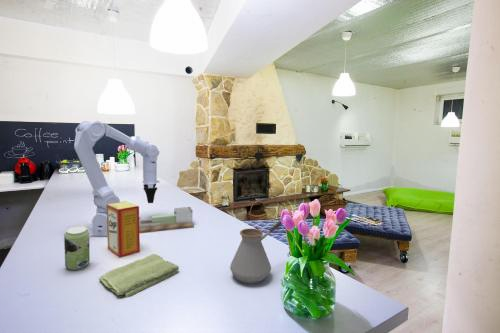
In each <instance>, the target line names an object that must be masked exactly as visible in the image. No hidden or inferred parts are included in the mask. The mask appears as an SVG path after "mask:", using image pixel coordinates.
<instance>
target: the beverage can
mask: <svg viewBox="0 0 500 333" xmlns="http://www.w3.org/2000/svg"><path fill="white" fill-rule="evenodd" d="M63 236H64V237H63V239H64V241H63V242H64V243H63V244H64V266H65V268H66V269H69V270H72V271H73V270H75V271H76V270H80V269H83V268H84V267H86V266H87V265H89V264H90V258H91V256H90V255H91V254H90V230H89V229H88V228H87V226H85V225H73V226H71V227H68V228H67V229H66V231H65V233H64V235H63Z"/></svg>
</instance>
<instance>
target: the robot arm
mask: <svg viewBox="0 0 500 333" xmlns="http://www.w3.org/2000/svg"><path fill="white" fill-rule="evenodd" d="M74 131H75V138H74V143H73V144H74V146H73V148H74V150H75V152H76V154H77V158H78V159H79V161H80V163H81V166H82V167H83V170H84V172H85V174H86V176H87V179H88V181H89V183H90V185H91V187H92V189H93V190H92V195H93V203H94V204H93V205H95V206H96V208H95V209H96V214H95V215H94V216H93V218H92V219H91V226H92V233H91V234H89V237H108V234H107V204H112V203H118V202H121V200H120V198H119V197H118V196H117V195H116V194H115V193H114V191H113V189H112V188H111V187H110V186H109V184H108V182H107V180H106V177H105V176H104V172H103V170H102V169H101V168H102V167H101V166H100V163H99V161H98V159H97V157H96V155H95V152H94V150H93V147H94V146H95V145H96V143H97V142H98V141H99V140H100V139H101V138H103V137H109V138H110V139H113V140H116V141H118V142H120V143H123V144H125V145H126V148H127V149H129V150H131V151H134V152H136V153H138V154H140V155H141V157H142V178H143V179H142V186H143V191H144V192H145V194H146V201H147V204H153V203H154V201H155V196H156V195H155V194H156V192H157V190H158V187H156V186H157V184H158V183H160V180H157V179H158V174H157V168H158V167H157V166H158V165H157V164H158V163H157V162H158V156H159V155H160V150H159V148H158V147H157V146H156V145H154V144H150V142H149V141H145V140H143V139H141V137H140V136H138V135H136V136H135V135H133V136H132V135H131V136H128V135H126V134H125V133H123V132H121V131H120V130H118V129H116V128H114V127H113V126H110V125H109V124H107V123H104V122H102V121H99V120H92V121H91V120H90V121H89V120H88V121H87V120H86V121H85V120H84V121H81V122H80V123H79V124H78V126H77V127H76V128H75V130H74Z"/></svg>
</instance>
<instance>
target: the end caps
mask: <svg viewBox="0 0 500 333" xmlns="http://www.w3.org/2000/svg"><path fill="white" fill-rule="evenodd" d="M173 211H174V212H173V214H176V225H179V224H189V223H193V215H194V214H193V211H194V210H193V209H192V207H191V206H186V207H174V208H173ZM141 218H142V217H141V216H139V228H149V227H159V226H160V222H159V223H152V221H151V219H143V220H142V219H141Z"/></svg>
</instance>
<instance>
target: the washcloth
mask: <svg viewBox="0 0 500 333" xmlns="http://www.w3.org/2000/svg"><path fill="white" fill-rule="evenodd" d="M179 270H180V268H179V266H178V265H177V264H176V263H173V262H171V261H168V260H165V259H164V258H163V257H161V255H158V254H157V253H152V254H149V255H147V256H146V257H144V258H141V259H136V260H135V261H132V262H129V263H128V264H126V265H123V266H120V267H117V268H114V269H112V270H109V271H107V272H105V273H103V275H101V276H99V278H98V280H99V281H100V282H102V283H103V285H104V286H105V287H106V288H108V289H109V290H111V291H112V292H113V293H115V295H117V296H124V297H125V298H129V297H131V296H133V295H135V294H137V293H139V292H141V291H144V290H146V289H147V288H149V287H152V286H153V285H156V284H158V283H159V282H162V281H165V279H167V278H169V277H172V276H174V275H176V274H177V272H179Z"/></svg>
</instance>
